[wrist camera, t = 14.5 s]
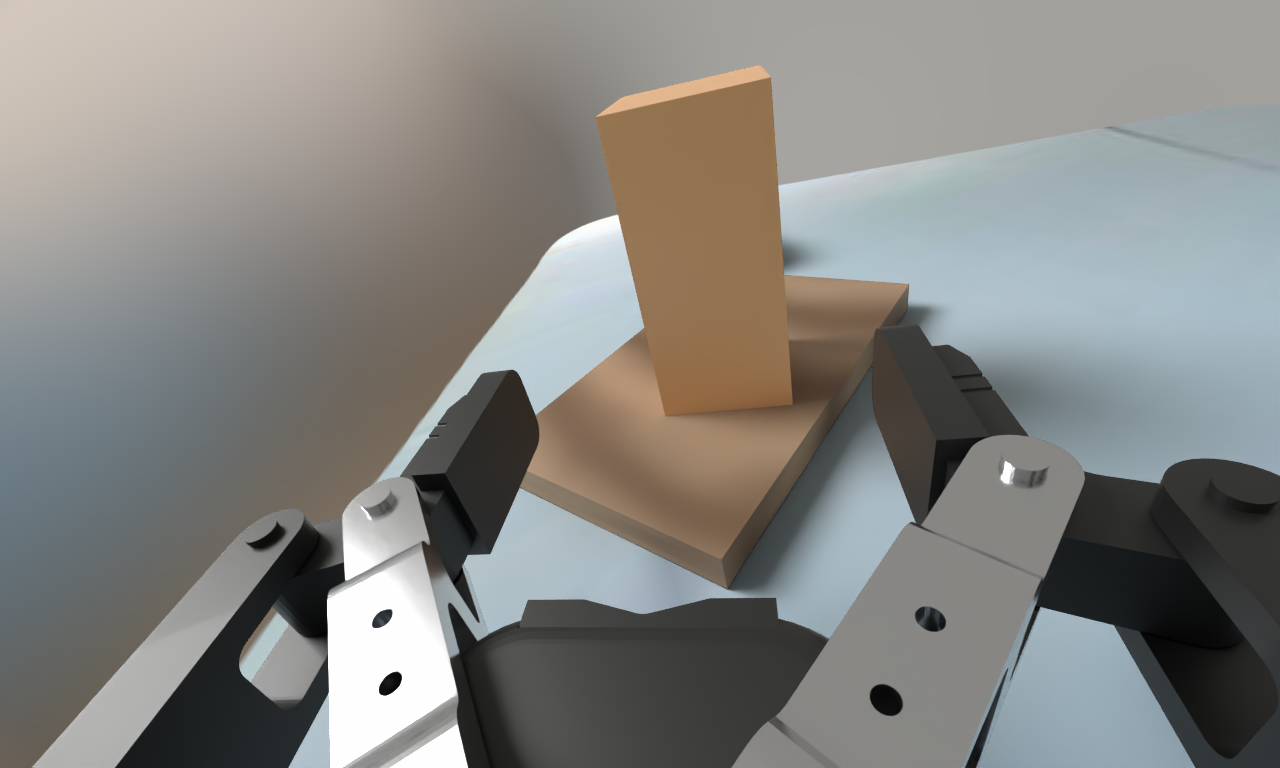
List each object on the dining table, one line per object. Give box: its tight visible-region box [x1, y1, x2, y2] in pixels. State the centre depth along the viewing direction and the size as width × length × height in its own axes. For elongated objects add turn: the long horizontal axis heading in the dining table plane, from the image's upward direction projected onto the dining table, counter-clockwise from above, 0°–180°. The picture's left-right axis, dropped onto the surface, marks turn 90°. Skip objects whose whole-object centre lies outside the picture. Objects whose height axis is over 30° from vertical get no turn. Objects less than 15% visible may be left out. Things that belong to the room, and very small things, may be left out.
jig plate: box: [520, 275, 909, 589], centre depth 25 cm, size 20×12×5 cm, turn 143°
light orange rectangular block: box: [596, 65, 793, 416], centre depth 21 cm, size 5×5×12 cm
